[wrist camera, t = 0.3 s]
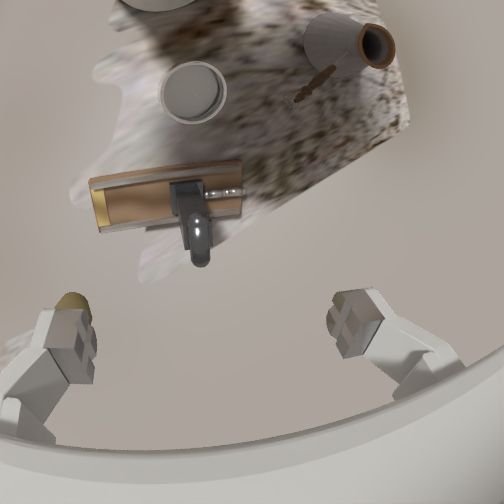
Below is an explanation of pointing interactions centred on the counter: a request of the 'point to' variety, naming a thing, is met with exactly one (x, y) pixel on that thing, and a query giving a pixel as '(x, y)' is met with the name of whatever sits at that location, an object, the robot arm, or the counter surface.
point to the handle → (196, 215)
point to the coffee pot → (343, 49)
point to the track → (159, 194)
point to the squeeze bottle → (74, 303)
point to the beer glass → (192, 92)
